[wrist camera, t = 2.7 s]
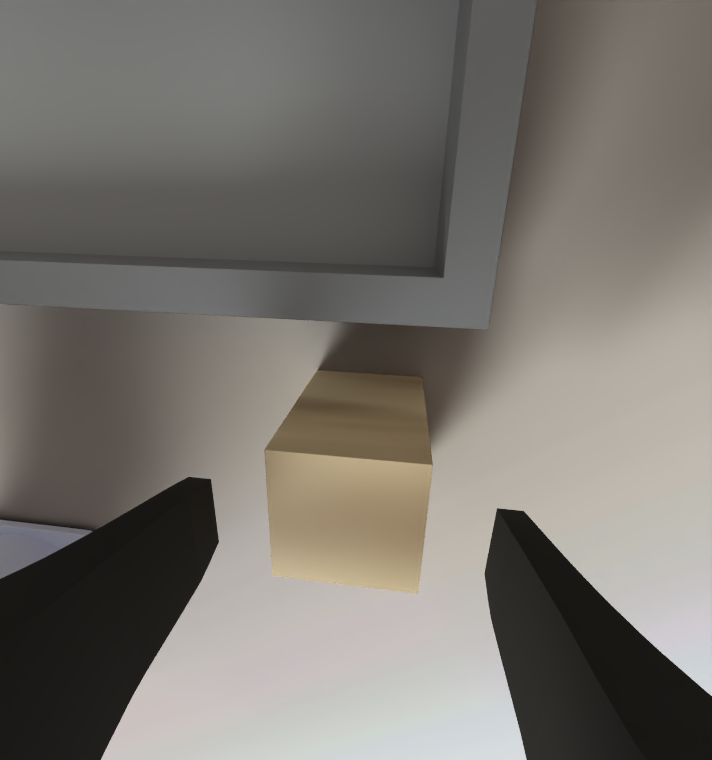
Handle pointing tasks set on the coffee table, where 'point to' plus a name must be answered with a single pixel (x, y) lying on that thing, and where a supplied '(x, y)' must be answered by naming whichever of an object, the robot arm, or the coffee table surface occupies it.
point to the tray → (260, 156)
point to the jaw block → (351, 482)
